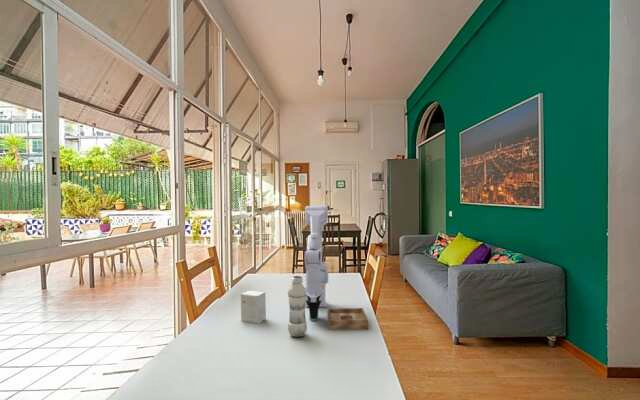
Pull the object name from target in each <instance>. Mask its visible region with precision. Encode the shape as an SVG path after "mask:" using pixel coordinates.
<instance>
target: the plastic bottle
mask: <svg viewBox="0 0 640 400" xmlns="http://www.w3.org/2000/svg"><path fill="white" fill-rule="evenodd" d="M291 283H292V284H291V285H290V287H289V288H288V291H287V295H288V304H289V319H288V327H287V329H288V333H289V335H290V336H291V337H296V338H300V337H304V336H305V335H306V333H307V331H308V330H307V329H308V327H307V326H308V325H307V321H306V320H307V319H306V307H305V300H306V289H305V285H303V283H304V281H303V276H302V275H301V276H300V275H293V276H292V277H291Z"/></svg>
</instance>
